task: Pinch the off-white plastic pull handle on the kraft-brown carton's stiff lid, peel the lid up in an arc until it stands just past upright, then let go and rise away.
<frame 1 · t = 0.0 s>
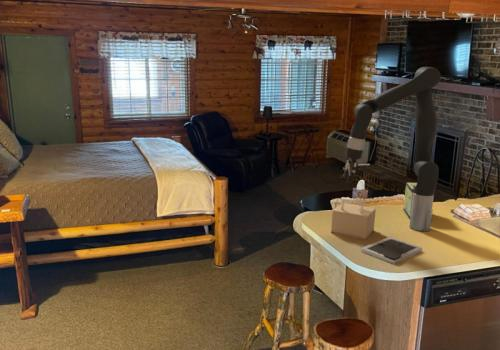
hand: (347, 181, 222), 22 cm above the counter, fingers open, 8 cm apart
protein box: (416, 215, 247), on the counter
carton: (352, 231, 221), on the counter
lid flap: (354, 203, 218), point 13 cm above the counter, hinge at 0.0°
picture frame: (391, 253, 200), on the counter
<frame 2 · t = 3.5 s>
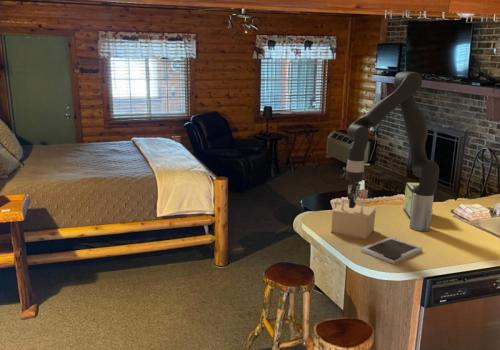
hand: (352, 207, 215), 13 cm above the counter, fingers closed on lid flap
lid flap: (354, 203, 218), point 13 cm above the counter, hinge at -0.1°, touching gripper
everything else where it was.
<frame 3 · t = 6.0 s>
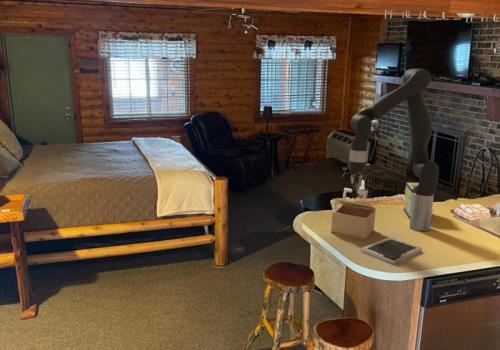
hand: (354, 197, 216), 17 cm above the counter, fingers closed on lid flap
lid flap: (356, 198, 219), point 16 cm above the counter, hinge at 21.9°, touching gripper
everything else where it was.
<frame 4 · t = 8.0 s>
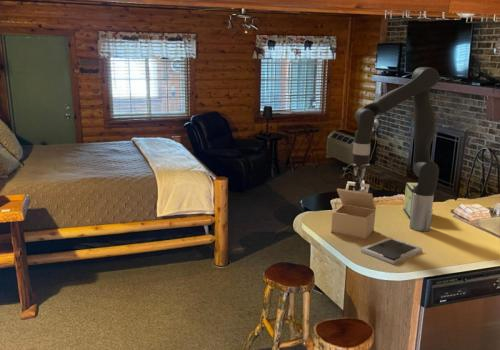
hand: (357, 189, 219), 19 cm above the counter, fingers closed on lid flap
lid flap: (358, 193, 221), point 17 cm above the counter, hinge at 43.2°, touching gripper
everything else where it was.
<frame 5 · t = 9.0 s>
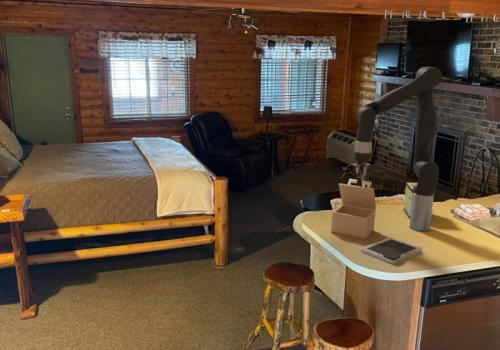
hand: (359, 187, 221), 20 cm above the counter, fingers closed on lid flap
lid flap: (359, 191, 222), point 18 cm above the counter, hinge at 55.8°, touching gripper
everything else where it was.
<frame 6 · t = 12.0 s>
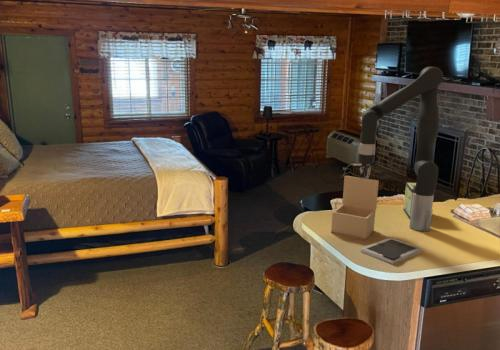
hand: (363, 188, 228), 18 cm above the counter, fingers closed
lid flap: (361, 191, 226), point 17 cm above the counter, hinge at 90.5°
everything else where it was.
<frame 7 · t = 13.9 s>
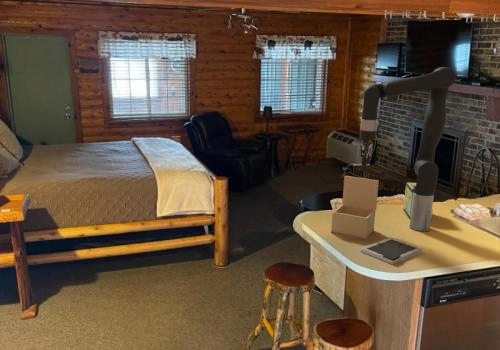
hand: (365, 164, 225), 29 cm above the counter, fingers open, 4 cm apart
lid flap: (361, 191, 226), point 17 cm above the counter, hinge at 89.7°
everything else where it was.
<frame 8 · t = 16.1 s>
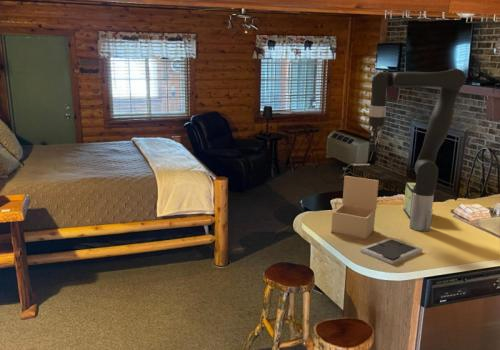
hand: (374, 150, 228), 35 cm above the counter, fingers open, 4 cm apart
nothing on the counter moved.
at the end: lid flap at +90° (first picture: +0°); the gripper is holding nothing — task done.
